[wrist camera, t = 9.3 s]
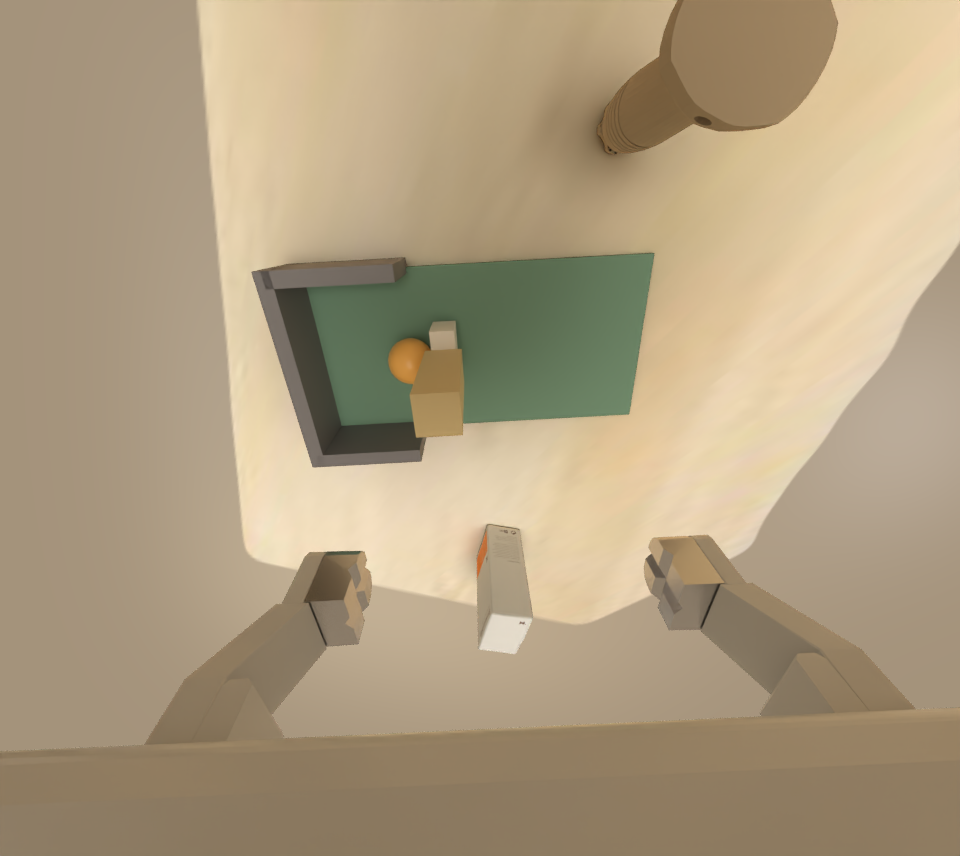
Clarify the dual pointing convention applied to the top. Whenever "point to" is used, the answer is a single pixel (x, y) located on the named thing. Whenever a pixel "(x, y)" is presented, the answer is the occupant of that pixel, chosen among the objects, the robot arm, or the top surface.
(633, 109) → the handle
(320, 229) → the top surface
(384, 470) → the top surface
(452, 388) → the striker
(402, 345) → the ball
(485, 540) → the skincare box
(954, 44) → the top surface
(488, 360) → the pitch
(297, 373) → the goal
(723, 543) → the top surface
